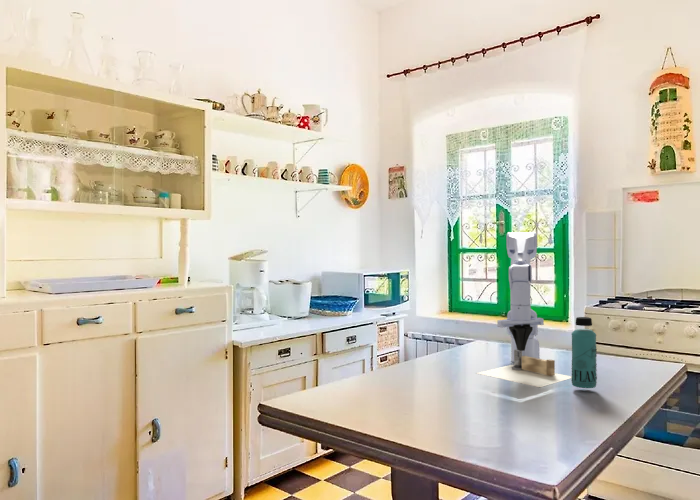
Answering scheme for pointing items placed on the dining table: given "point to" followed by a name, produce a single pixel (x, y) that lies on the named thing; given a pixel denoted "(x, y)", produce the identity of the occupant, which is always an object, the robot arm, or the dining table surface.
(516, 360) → the hinge post
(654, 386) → the dining table surface
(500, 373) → the board
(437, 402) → the dining table surface
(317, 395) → the dining table surface
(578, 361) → the beverage bottle
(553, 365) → the tan wooden bar
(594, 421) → the dining table surface
